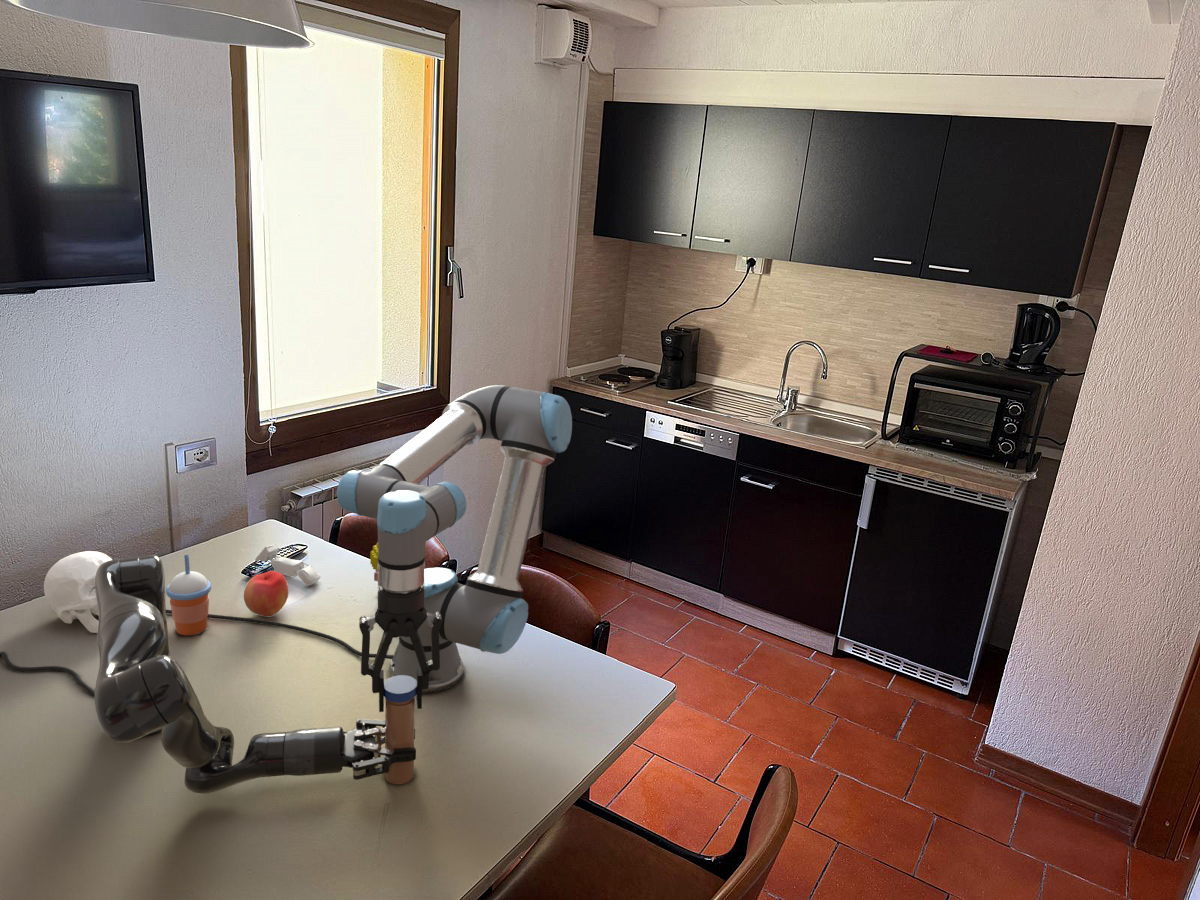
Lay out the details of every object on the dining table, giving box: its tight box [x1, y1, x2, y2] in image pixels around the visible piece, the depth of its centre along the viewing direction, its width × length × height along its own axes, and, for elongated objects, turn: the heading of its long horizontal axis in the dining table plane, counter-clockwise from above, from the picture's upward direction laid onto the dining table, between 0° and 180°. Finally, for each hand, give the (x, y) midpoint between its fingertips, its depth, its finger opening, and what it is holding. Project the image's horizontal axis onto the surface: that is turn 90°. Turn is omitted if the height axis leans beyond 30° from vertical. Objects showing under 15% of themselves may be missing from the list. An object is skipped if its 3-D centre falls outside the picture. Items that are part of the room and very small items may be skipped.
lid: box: [384, 675, 417, 702], centre depth 146 cm, size 6×6×2 cm
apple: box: [243, 570, 289, 618], centre depth 199 cm, size 10×10×10 cm
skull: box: [43, 550, 113, 634], centre depth 190 cm, size 13×22×16 cm, turn 73°
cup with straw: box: [165, 554, 212, 636], centre depth 189 cm, size 9×9×18 cm
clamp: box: [254, 544, 322, 587], centre depth 219 cm, size 20×4×7 cm, turn 62°
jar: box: [384, 696, 416, 785], centre depth 149 cm, size 5×5×17 cm
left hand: (414, 743), depth 150 cm, fingers closed on jar, 5 cm apart
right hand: (400, 705), depth 147 cm, fingers closed on lid, 6 cm apart
